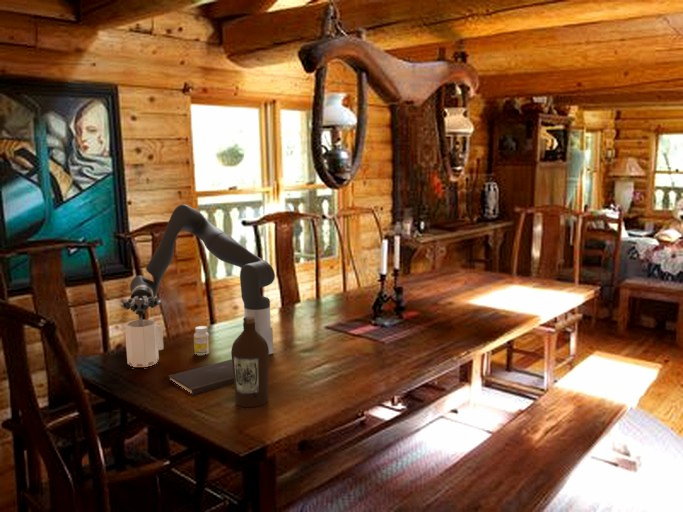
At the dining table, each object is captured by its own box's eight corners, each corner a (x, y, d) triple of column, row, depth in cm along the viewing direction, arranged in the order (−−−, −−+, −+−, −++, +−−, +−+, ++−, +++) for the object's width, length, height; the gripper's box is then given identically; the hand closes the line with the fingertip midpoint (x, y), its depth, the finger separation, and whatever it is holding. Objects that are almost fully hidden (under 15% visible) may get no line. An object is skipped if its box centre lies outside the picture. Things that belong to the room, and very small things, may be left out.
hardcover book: (169, 382, 190) (168, 375, 189) (232, 365, 205) (232, 359, 204) (192, 397, 178) (192, 389, 177) (257, 378, 193) (257, 371, 192)
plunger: (156, 351, 205) (153, 298, 202) (139, 357, 200) (135, 302, 197) (146, 347, 209) (142, 295, 206) (128, 352, 204) (124, 299, 201)
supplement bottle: (203, 356, 213) (202, 330, 211) (191, 354, 215) (190, 328, 213) (212, 351, 217) (211, 326, 216) (200, 350, 220) (199, 324, 218)
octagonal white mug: (170, 361, 207) (168, 321, 205) (138, 371, 198) (135, 329, 196) (154, 355, 214) (152, 316, 211) (122, 364, 205) (119, 323, 202)
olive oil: (240, 393, 179) (237, 312, 175) (274, 394, 177) (272, 313, 173) (228, 407, 169) (224, 322, 165) (264, 409, 167) (261, 323, 163)
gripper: (120, 287, 213) (116, 298, 196) (161, 285, 216) (160, 295, 200) (122, 308, 214) (117, 320, 198) (162, 305, 218) (161, 317, 201)
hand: (139, 308), depth 199 cm, fingers closed on plunger, 3 cm apart
